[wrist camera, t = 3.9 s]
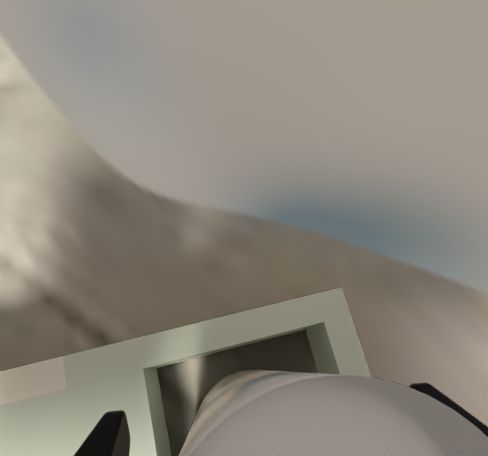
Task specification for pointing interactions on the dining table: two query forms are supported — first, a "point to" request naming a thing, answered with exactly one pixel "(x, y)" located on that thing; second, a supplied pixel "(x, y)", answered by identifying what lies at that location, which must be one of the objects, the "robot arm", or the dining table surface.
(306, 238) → the dining table surface
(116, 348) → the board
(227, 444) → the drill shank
